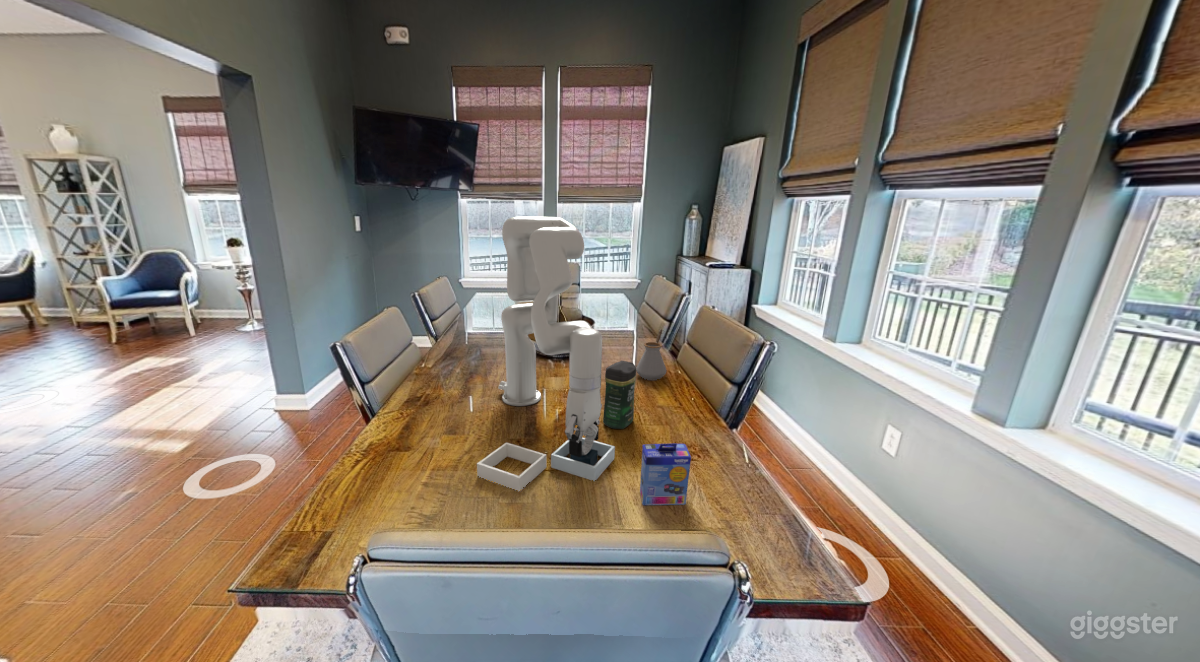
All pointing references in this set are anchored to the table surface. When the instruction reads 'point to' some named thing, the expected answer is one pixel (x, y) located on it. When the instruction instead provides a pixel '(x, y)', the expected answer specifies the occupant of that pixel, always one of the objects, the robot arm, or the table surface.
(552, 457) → the tray far
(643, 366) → the coffee pot
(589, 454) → the watch
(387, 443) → the table surface
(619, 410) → the coffee jar
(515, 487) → the tray near
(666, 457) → the ink cartridge box
